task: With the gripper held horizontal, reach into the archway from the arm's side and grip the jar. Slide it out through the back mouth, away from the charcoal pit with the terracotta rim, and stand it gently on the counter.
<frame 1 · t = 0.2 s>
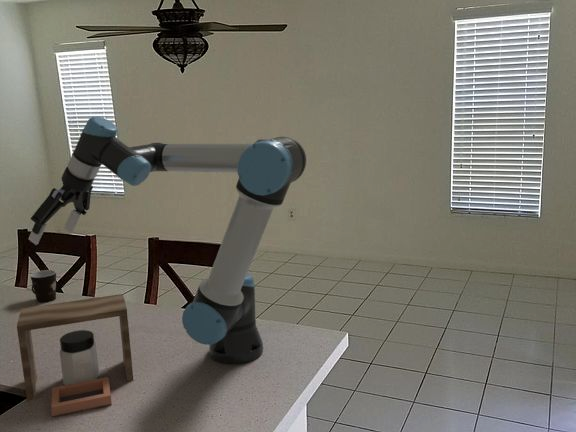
hand: (51, 235, 150), 35 cm above the counter, tool tilted 35°, fingers open, 13 cm apart
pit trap: (82, 400, 132), on the counter
archway: (81, 379, 142), on the counter
jar: (81, 380, 142), on the counter
coffee mug: (42, 301, 199), on the counter
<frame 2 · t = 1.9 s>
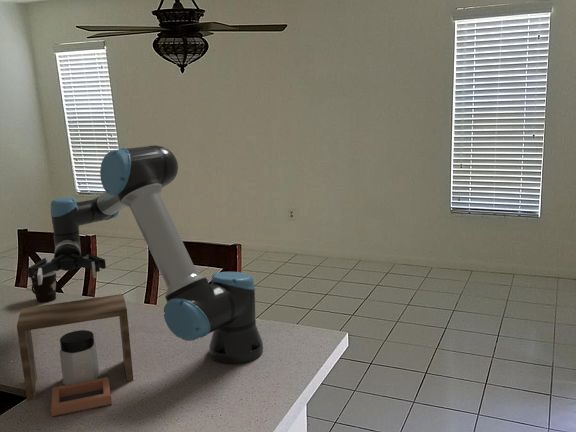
hand: (67, 276, 145), 25 cm above the counter, tool horizontal, fingers open, 13 cm apart
nothing on the counter moved.
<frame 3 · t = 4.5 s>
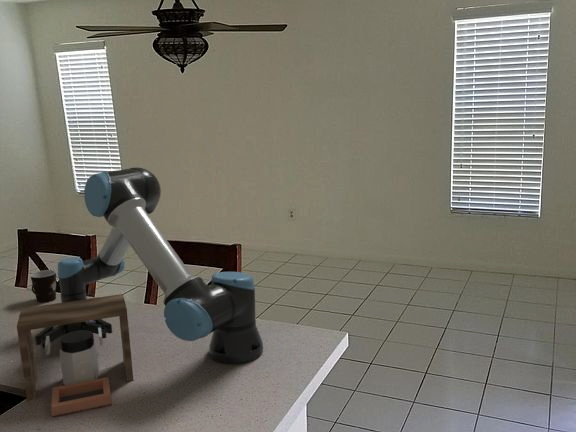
hand: (74, 345, 147), 6 cm above the counter, tool horizontal, fingers open, 13 cm apart
nothing on the counter moved.
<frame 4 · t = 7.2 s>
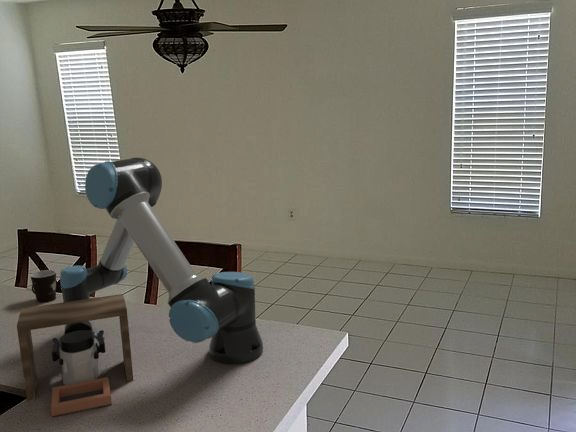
hand: (79, 365, 136), 7 cm above the counter, tool horizontal, fingers open, 6 cm apart
jar: (81, 380, 142), on the counter, touching gripper
everything else where it was.
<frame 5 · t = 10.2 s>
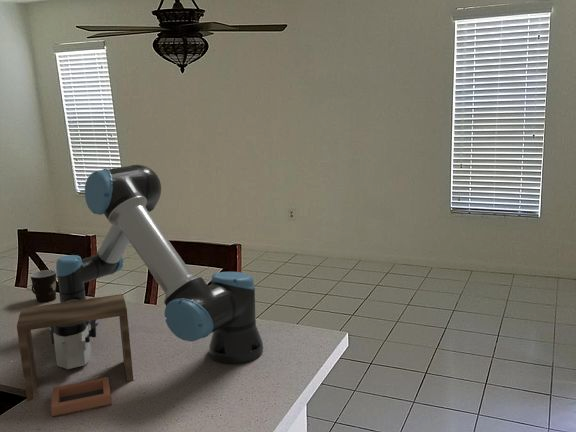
hand: (74, 347, 144), 7 cm above the counter, tool horizontal, fingers closed on jar, 4 cm apart
jar: (74, 362, 150), point 1 cm above the counter, touching gripper
everything else where it was.
when the fingers open (7 cm above the counter, at t = 12.9 s): jar stays where it is, on the counter.
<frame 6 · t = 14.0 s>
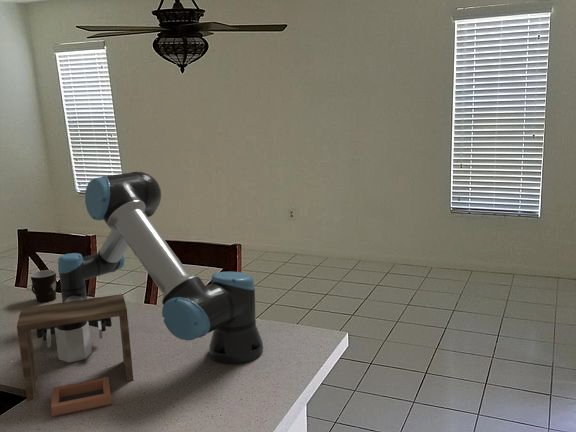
hand: (74, 338, 151), 7 cm above the counter, tool horizontal, fingers open, 13 cm apart
jar: (75, 356, 156), on the counter
everything else where it was.
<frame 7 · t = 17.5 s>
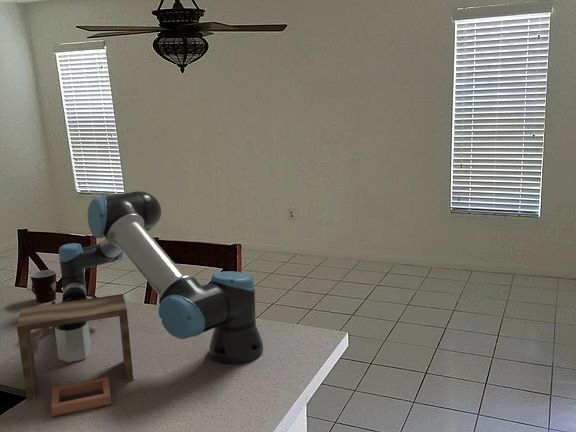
hand: (74, 320, 163), 7 cm above the counter, tool horizontal, fingers open, 13 cm apart
nothing on the counter moved.
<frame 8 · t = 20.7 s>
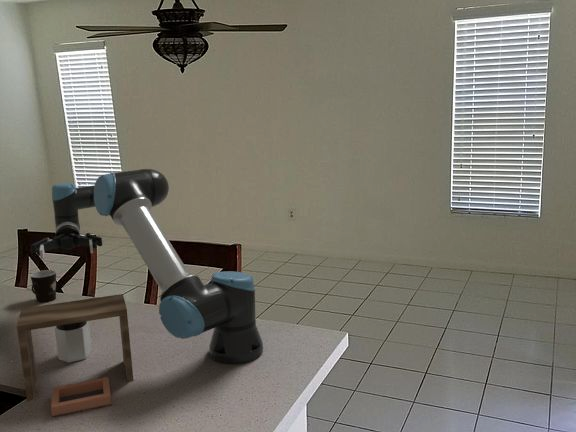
hand: (66, 251, 159), 28 cm above the counter, tool horizontal, fingers open, 13 cm apart
nothing on the counter moved.
at the end: jar inside the target area (0.6 cm from its centre), on the counter; jar tilted 0°; the gripper is holding nothing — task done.
